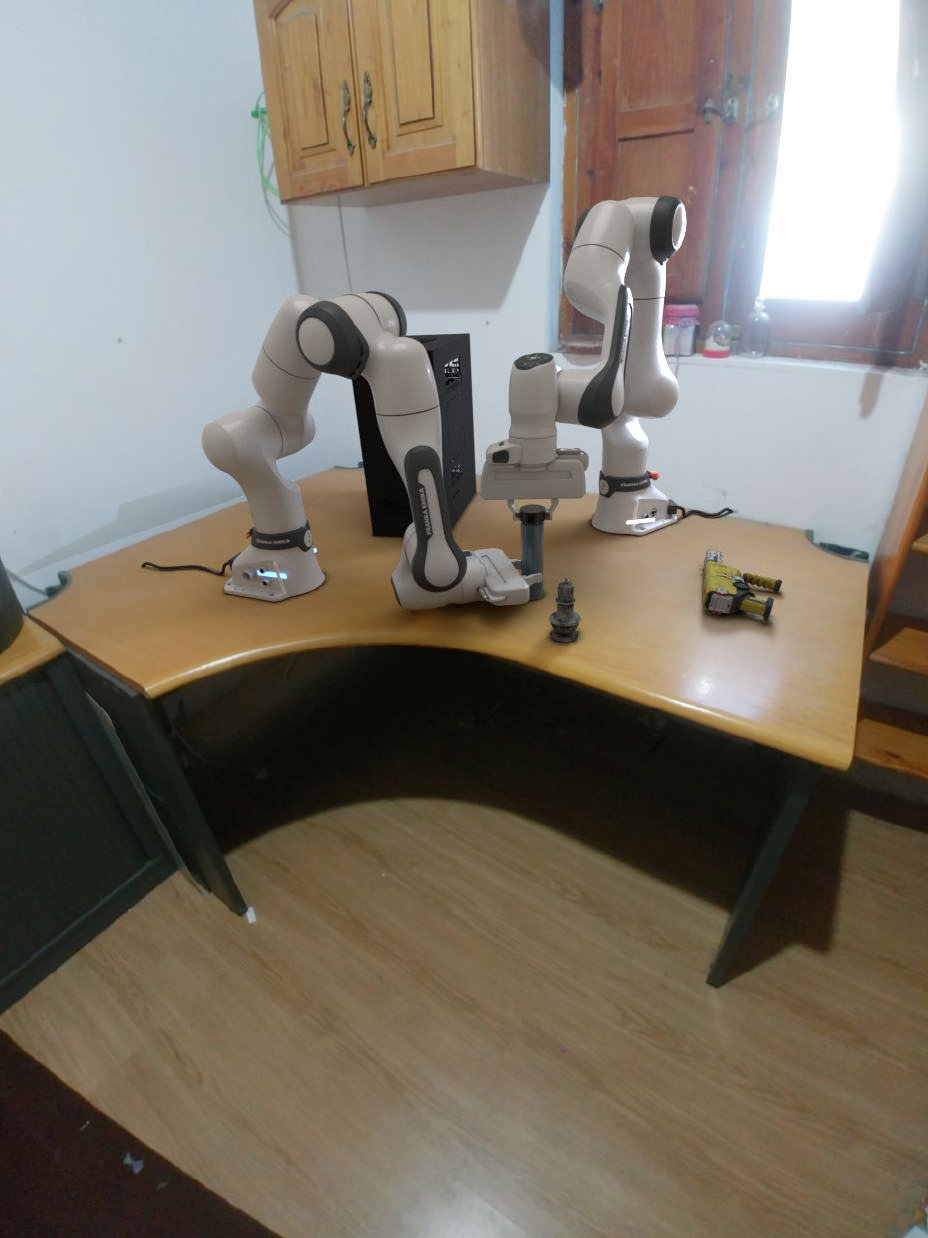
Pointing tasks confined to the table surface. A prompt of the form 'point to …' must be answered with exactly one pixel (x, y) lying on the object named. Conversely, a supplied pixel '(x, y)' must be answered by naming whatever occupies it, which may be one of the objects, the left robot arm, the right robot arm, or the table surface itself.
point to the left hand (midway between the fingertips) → (536, 570)
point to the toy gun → (734, 588)
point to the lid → (532, 514)
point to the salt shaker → (565, 614)
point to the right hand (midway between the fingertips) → (532, 519)
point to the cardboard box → (457, 439)
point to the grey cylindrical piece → (533, 555)
